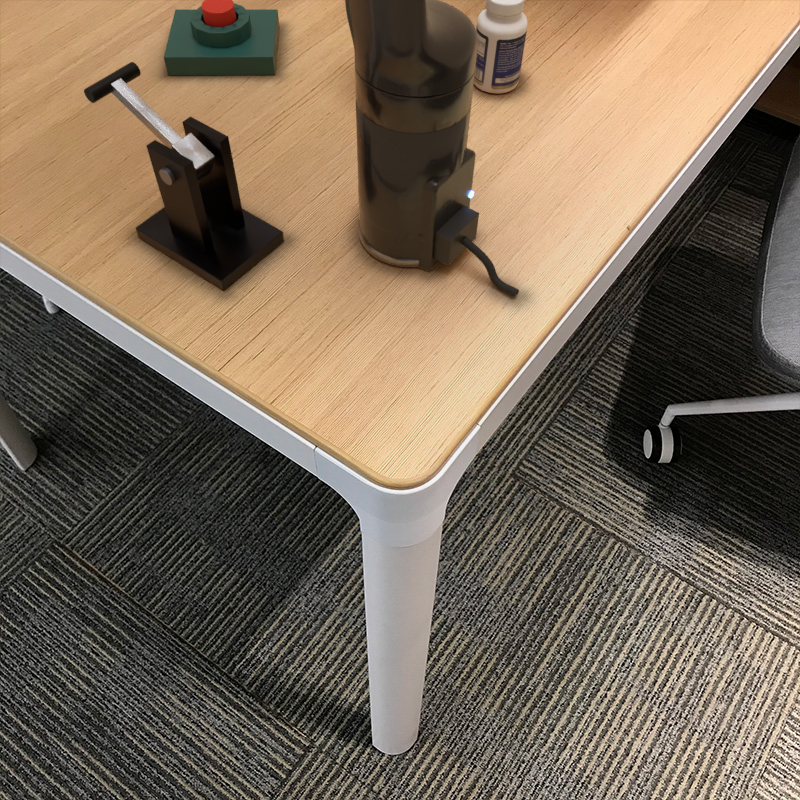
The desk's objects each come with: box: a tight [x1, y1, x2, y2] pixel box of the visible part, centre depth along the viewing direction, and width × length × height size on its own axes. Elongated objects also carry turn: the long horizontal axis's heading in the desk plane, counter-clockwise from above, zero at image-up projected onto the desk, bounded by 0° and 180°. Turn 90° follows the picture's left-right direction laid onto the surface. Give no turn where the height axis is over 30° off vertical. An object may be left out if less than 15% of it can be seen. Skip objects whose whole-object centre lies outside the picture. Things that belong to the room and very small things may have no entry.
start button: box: [200, 0, 236, 27], centre depth 86 cm, size 4×4×2 cm
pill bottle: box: [474, 0, 529, 94], centre depth 83 cm, size 5×5×10 cm
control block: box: [163, 2, 280, 76], centre depth 88 cm, size 12×10×4 cm
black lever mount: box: [135, 116, 285, 291], centre depth 67 cm, size 11×8×11 cm
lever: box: [83, 61, 215, 181], centre depth 64 cm, size 11×5×2 cm, turn 53°
